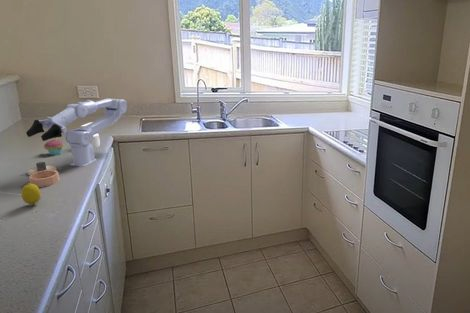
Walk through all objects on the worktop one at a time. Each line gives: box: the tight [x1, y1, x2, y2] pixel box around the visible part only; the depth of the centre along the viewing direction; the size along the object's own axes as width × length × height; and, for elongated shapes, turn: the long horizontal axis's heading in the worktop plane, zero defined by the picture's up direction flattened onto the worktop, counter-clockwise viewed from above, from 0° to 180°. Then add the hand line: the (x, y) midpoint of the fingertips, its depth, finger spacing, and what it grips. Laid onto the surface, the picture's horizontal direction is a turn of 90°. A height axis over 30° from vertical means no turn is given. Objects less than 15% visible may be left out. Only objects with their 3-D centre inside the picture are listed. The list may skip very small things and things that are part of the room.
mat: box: [20, 166, 64, 177], centre depth 144 cm, size 12×12×1 cm
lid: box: [26, 161, 57, 177], centre depth 143 cm, size 11×11×4 cm
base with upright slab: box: [80, 121, 101, 149], centre depth 180 cm, size 9×9×12 cm
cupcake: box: [43, 137, 64, 156], centre depth 167 cm, size 9×8×12 cm
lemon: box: [21, 182, 42, 206], centre depth 114 cm, size 6×6×8 cm
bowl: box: [28, 170, 60, 188], centre depth 133 cm, size 10×10×4 cm
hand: (34, 136), depth 131 cm, fingers open, 7 cm apart
